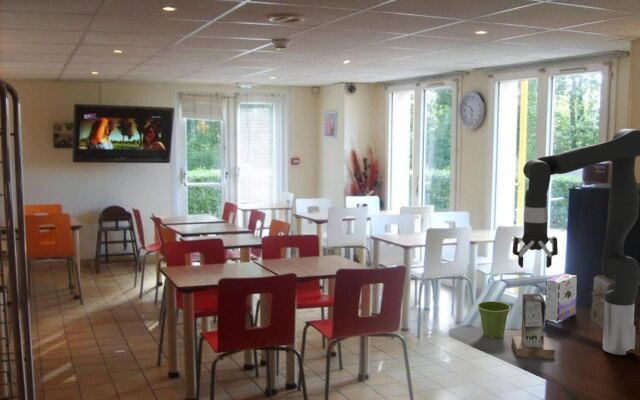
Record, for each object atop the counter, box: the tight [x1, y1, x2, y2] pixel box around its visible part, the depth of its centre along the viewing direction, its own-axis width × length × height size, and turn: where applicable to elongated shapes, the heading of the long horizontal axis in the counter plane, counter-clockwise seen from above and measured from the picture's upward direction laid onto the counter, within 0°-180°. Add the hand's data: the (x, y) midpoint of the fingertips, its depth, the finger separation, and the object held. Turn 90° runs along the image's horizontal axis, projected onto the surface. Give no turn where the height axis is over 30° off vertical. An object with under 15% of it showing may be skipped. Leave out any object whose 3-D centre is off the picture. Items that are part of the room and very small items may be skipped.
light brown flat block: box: [511, 335, 556, 359], centre depth 228 cm, size 12×12×3 cm
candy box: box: [544, 273, 578, 321], centre depth 260 cm, size 14×6×16 cm, turn 130°
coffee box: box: [521, 293, 545, 348], centre depth 226 cm, size 9×6×16 cm
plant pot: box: [476, 300, 512, 339], centre depth 243 cm, size 12×12×11 cm
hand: (534, 267), depth 224 cm, fingers open, 8 cm apart
